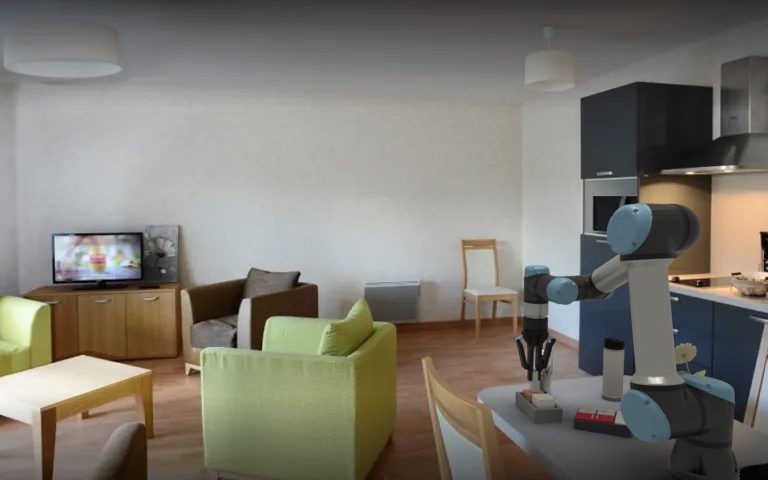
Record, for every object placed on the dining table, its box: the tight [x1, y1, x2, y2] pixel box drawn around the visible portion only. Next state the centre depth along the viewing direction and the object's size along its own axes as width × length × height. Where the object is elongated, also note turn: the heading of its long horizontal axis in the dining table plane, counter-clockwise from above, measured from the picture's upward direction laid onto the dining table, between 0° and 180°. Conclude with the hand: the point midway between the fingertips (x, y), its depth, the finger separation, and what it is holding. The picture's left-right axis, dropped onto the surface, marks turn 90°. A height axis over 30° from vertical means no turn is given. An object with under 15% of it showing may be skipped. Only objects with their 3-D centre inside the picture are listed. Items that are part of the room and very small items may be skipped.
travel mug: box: [601, 337, 625, 402], centre depth 196 cm, size 6×7×20 cm
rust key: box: [522, 388, 544, 400], centre depth 187 cm, size 5×5×4 cm
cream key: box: [532, 394, 556, 409], centre depth 179 cm, size 5×5×4 cm
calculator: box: [573, 406, 633, 439], centre depth 173 cm, size 11×4×15 cm
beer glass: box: [533, 349, 555, 397], centre depth 197 cm, size 7×7×15 cm
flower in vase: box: [674, 342, 707, 376], centre depth 169 cm, size 13×11×25 cm
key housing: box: [514, 391, 564, 424], centre depth 183 cm, size 16×9×4 cm, turn 7°
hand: (533, 390), depth 187 cm, fingers closed
